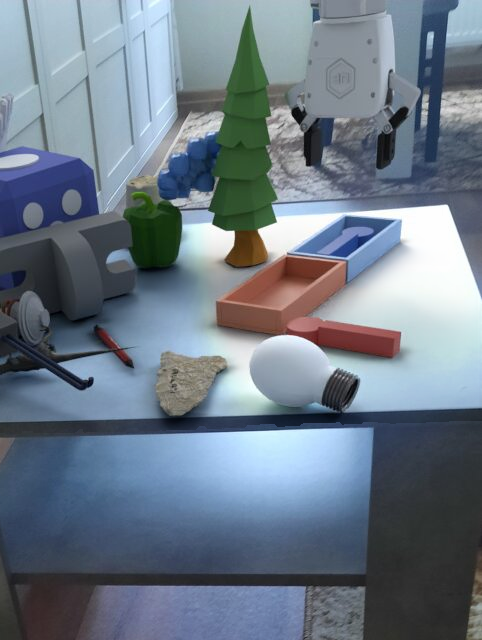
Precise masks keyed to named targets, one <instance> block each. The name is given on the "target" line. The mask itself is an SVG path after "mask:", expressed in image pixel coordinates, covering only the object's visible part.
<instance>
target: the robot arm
mask: <svg viewBox="0 0 482 640" xmlns="http://www.w3.org/2000/svg"><path fill="white" fill-rule="evenodd" d="M309 4H310V8H311V9H313V10H314V9H316V10H318V16H319V20H315V21H313V23H312V27H311V33H310V38H309V44H308V50H307V57H306V68H305V79H303V80H301V81H300V82H298V83H297V84H296V85H294V86H293V87H291V88H290V89H288V90H287V91H285V93H284V98H285V101H286V103H287V105H288V108H289V110H290V114H291V117H292V118H293V120H294V121H295V122H296V123H297V124H298V125H299V130H300V132H302V133H303V158H304V159H305V167H307V168H308V167H309V168H310V167H313V166H314V165H316V164H318V163H320V162H321V161H322V147H323V145H322V143H323V142H322V138H323V136H322V135H323V130H322V127H321V126H319V123H321V121H322V119H324V118H325V119H368V118H374V120H375V122H376V124H377V125H378V126H379V128H380V129H381V133H379V134H377V138H376V139H377V140H376V155H375V156H376V159H375V169H377V170H384V169H385V168H387V167H388V166H390V165H391V164H392V161H393V160H394V158H395V153H396V142H397V141H396V140H397V139H396V138H397V129H400V127H401V125H402V124H403V123H404V122H405V121H406V120H407V119H408V118H409V117H410V116H411V114H412V112H413V109H414V108H415V106H416V104H417V102H418V100H419V98H420V97H421V93H422V91H421V89H420V87H418V86H416V85H414V84H413V83H411V82H410V81H408V80H407V79H405V78H404V77H402V76H400V75H398V74H397V73H396V51H395V49H396V46H395V36H394V27H393V20H392V14H387V6H388V0H310V3H309ZM395 93H397V94H398V95H400V96H401V97H402V102H401V105H400V107H399V108H398V110H396V111H395V110H394V108H393V107H392V106H393V104H394V99H395ZM303 95H304V105H303V103H302V102H303V101H302V96H303Z"/></svg>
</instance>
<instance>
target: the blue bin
mask: <svg viewBox="0 0 482 640" xmlns="http://www.w3.org/2000/svg"><path fill="white" fill-rule="evenodd" d="M402 223H403V219H402V218H393V217H392V218H389V217H380V216H379V217H378V216H370V215H369V216H367V215H357V214H344V213H343V214H342V215H340V216H339V217H337V218H336V219H335V220H334V219H333V221H331V222H330V223H328V224H326V225H325V226H324V227H323V228H321V229H319V230H318V231H316V232H315V233H314V234H312V235H311V236H309V237H308V238H307V239H305V240H304V241H302V242H300V243H299V244H297V245H296V246H295V247H293V248H291V249H290V250H289V251H287V252H286V255H294V256H302V257H311V258H320V259H328V260H337V261H345V262H346V279H345V284H348V283H349V282H351V281H352V280H353V279H355V278H356V277H358V275H360V274H361V273H362V272H363V271H365V270H366V269H367V268H368V267H370V266H371V265H372V264H374V263H375V262H376V261H377V260H378V259H380V258H381V257H383V256H384V255H385V254H387V252H388V251H390V250H392V249H393V248H394V247H395V246H396V245H398V244H399V243H400V242H401V236H402ZM351 227H368V228H371V229H373V230H374V237H373V238H372V239H370V240H369V241H368V242H366V243H365V244H364V245H362V246H361V247H360V248H358V249H357V250H356V251H354V252H353V253H352V254H350V255H349V256H348V257H346V258H344V257H335V256H327V255H318V254H316V253H317V252H318V251H320V250H321V249H323V248H324V247H326V246H327V245H328V244H330V243H331V242H333V241H334V240H335V239H337V238H338V237H340V236H341V235H342V231H343V230H345V229H347V228H351Z"/></svg>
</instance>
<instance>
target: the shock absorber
mask: <svg viewBox="0 0 482 640" xmlns="http://www.w3.org/2000/svg"><path fill="white" fill-rule="evenodd" d="M13 303H14V304H13ZM7 304H9V305H8V308H6V305H7ZM0 311H1V312H3V313H4V314H6V315H8V316H9V317H11V318H13V319H14V320H16V322H17V323H16V326H17V333H18V339H19V340H22V339H23V342H24V341H25V342H24V343H25V344H27V345H29V346H30V347H34V346H38V344H39V343H40V341H41V340H42V339H43V338H44V335H45V334H44V332H46V331H43V332H41V331H39V330H41V329H46V328H44V327H42V326H40V325H44V326H48V327H49V324H50V322H51V321H50V319H51V318H50V317H51V316H50V314H49V312H48V311H47V310H46V309H44V307H43V304H42V302H41V299H40V298H39V297H38V296H37V294H35V293H34V292H32V291H27V292H25V293H24V294H23V295H22V297H21V299H18V298H14V299H12V300H11V301H10V300H5V301H4V302H3V304H2V306H1V302H0Z"/></svg>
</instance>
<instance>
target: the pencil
mask: <svg viewBox="0 0 482 640" xmlns="http://www.w3.org/2000/svg"><path fill="white" fill-rule="evenodd" d="M92 330H93V332H94V333H95V334H96V336H98V337H99V339H100V340H101V341H102V342H103V343H104V344H105V345H106V346H107V347H108V348H109V349H119V348H122V347H121V346H120V345H119V344H118V343H117V342H116V341H115V340H114V339H113V337H112V336H111V335H110V334H109V333H108V332H107V331H106V330H105V329H104V328H103V327H102V326H101V325H100V324H95V325H94V326H93V329H92ZM113 354H114V355H115V356H116V357H117V358H118V359H119V360H120V361H121V363H122V364H123V365H124V366H125V367H128V368H131V369H135V365H134V362H133V359H132V358H131V357H130V355H128V354H127V352H126V351H124V350H119V351H114V352H113Z"/></svg>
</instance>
